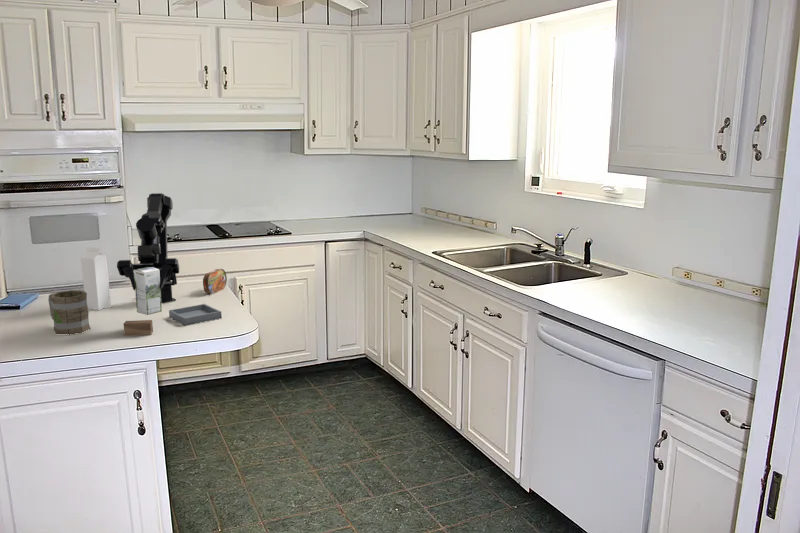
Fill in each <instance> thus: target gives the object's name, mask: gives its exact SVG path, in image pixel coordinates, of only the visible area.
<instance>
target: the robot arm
mask: <svg viewBox="0 0 800 533" xmlns="http://www.w3.org/2000/svg"><path fill="white" fill-rule="evenodd" d="M146 202H147V204H146V205H147V207H146V208H147V211H146V212H145V213H144V214H142V215H141V218H140V219H138V220H137V221H136V223H135V227H136V230H137V233H138V236H139V239H140V245H138V246H137V261H138V262H139V263H132V260H131V259H119V260H118V261H117V262H116V268H117V271H118V273H119V275H120V276H123V277H124V276H125V278H128V279H129V281H130V282H131V286H132V290H133V291H135V278H134V270H137V269H142V268H146V267H153V268H156V269H159V270H160V289H161V304H164V303H169V302H175V301H176V300H177V299H176V298H174V297H173V289H172V288H173V287H172V286H175V285H177V284H178V282H177V275H176V274H179V273H180V264H179V260H178V259H177V258H176V257H174V258H173V257H171V258H170V257H168V220H169V219H170V218H171V216H172V210H173V209H174V208H173V207H174V206H173V205H174V204H173V199H172V198H171V197H170V196H168V195H165V194H164V193H162V192H161V193H159V192H158V193H157V192H155V193H153V192H152V193H150V194H149V195H148V197H147V198H146ZM176 302H177V301H176Z"/></svg>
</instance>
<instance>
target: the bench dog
mask: <svg viewBox="0 0 800 533" xmlns="http://www.w3.org/2000/svg"><path fill="white" fill-rule="evenodd" d="M153 328H154V326H153V319H142V320H125V321H124V322H123V333H124V335H123V336H125V337H131V336H132V337H133V336H152V334H153V332H154V329H153Z"/></svg>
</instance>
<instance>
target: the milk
mask: <svg viewBox="0 0 800 533" xmlns="http://www.w3.org/2000/svg"><path fill="white" fill-rule="evenodd" d="M85 249H86V252H85V253H83V255H82V256H81V257H80V262H81V272H82V281H83V282H82V284H83V291H85V292H86V293H87V307H88V310H91V309H94V310H93V311H101V309H102V310H103V308H105V309H107V308H106V307H108V308H110V307H109V306H111V305H112V304H111V293H110V292H111V291H110V281H109V280H110V279H109V272H108V271H109V269H108V260H107V259H108V258H107V255H105V254H104V253H102V252H101V249H100V248H97V247H87V246H86V248H85Z"/></svg>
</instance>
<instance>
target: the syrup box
mask: <svg viewBox="0 0 800 533" xmlns="http://www.w3.org/2000/svg"><path fill="white" fill-rule="evenodd" d="M134 278H135V290H134V292H135V303H136V304H135V305H136V312H137V313H139V314H141V315H145V316H148V315H149V316H150V315H153V314H157V313H161V312H163V308H162V307H163V306H162V303H161V289H160V270H159V269H156V268H153V267H146V268H142V269H137V270H134Z"/></svg>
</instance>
